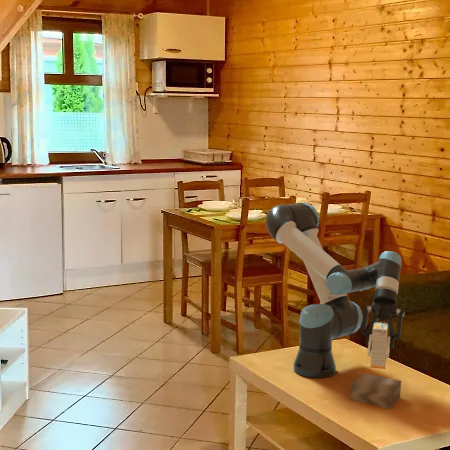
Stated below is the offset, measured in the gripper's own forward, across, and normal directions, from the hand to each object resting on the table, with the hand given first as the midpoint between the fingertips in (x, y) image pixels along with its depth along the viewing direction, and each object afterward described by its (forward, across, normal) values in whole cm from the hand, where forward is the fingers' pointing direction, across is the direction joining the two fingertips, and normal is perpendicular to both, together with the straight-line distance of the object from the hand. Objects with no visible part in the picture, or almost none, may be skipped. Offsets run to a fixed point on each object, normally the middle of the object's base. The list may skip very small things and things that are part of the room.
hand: (377, 355), depth 226 cm
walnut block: (+9, +1, -14) cm, 17 cm away
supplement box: (+1, 0, -6) cm, 6 cm away
